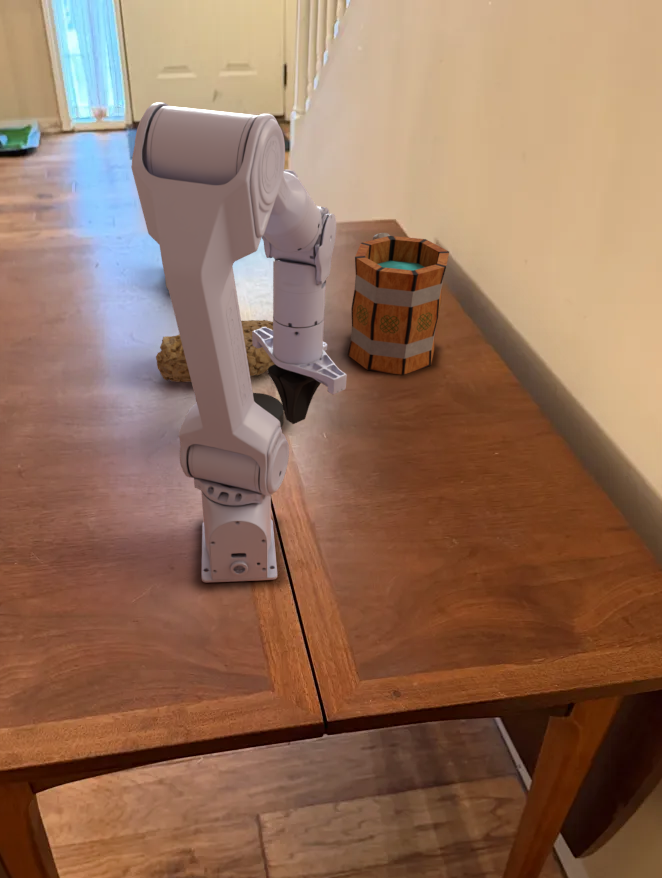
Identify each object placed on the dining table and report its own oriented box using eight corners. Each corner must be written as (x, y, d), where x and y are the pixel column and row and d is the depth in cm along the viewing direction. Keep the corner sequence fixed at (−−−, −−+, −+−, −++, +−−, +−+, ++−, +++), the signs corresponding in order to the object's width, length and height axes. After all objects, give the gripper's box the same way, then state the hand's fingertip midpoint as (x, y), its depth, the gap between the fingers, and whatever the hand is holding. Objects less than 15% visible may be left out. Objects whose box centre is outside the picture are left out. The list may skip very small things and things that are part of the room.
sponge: (163, 402, 110) (302, 379, 106) (147, 348, 106) (291, 323, 102) (180, 370, 121) (306, 348, 117) (166, 320, 117) (297, 297, 113)
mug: (447, 371, 114) (465, 272, 103) (357, 378, 112) (366, 278, 102) (411, 310, 128) (423, 217, 118) (330, 315, 126) (335, 222, 116)
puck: (285, 437, 101) (285, 425, 100) (224, 439, 101) (223, 427, 99) (281, 404, 107) (281, 391, 106) (223, 406, 107) (222, 393, 105)
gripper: (370, 329, 84) (360, 433, 93) (284, 284, 93) (283, 384, 102) (321, 349, 81) (316, 455, 90) (237, 301, 89) (240, 402, 98)
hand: (295, 419), depth 96 cm, fingers closed
